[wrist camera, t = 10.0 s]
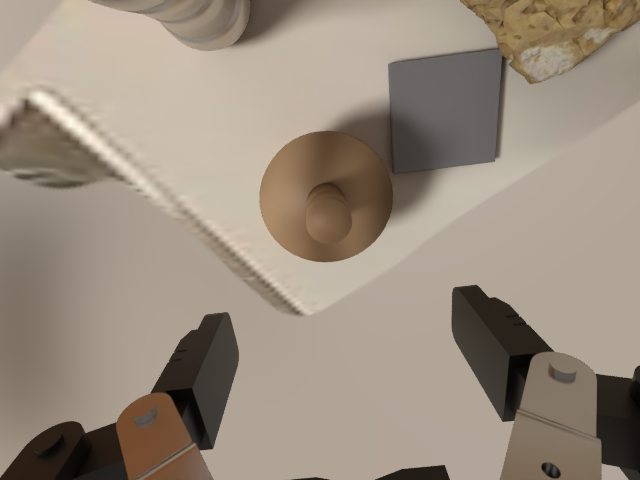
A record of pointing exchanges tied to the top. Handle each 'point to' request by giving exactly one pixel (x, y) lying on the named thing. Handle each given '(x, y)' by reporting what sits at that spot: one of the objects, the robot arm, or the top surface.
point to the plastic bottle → (193, 19)
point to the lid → (326, 196)
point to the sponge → (552, 30)
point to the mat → (444, 110)
